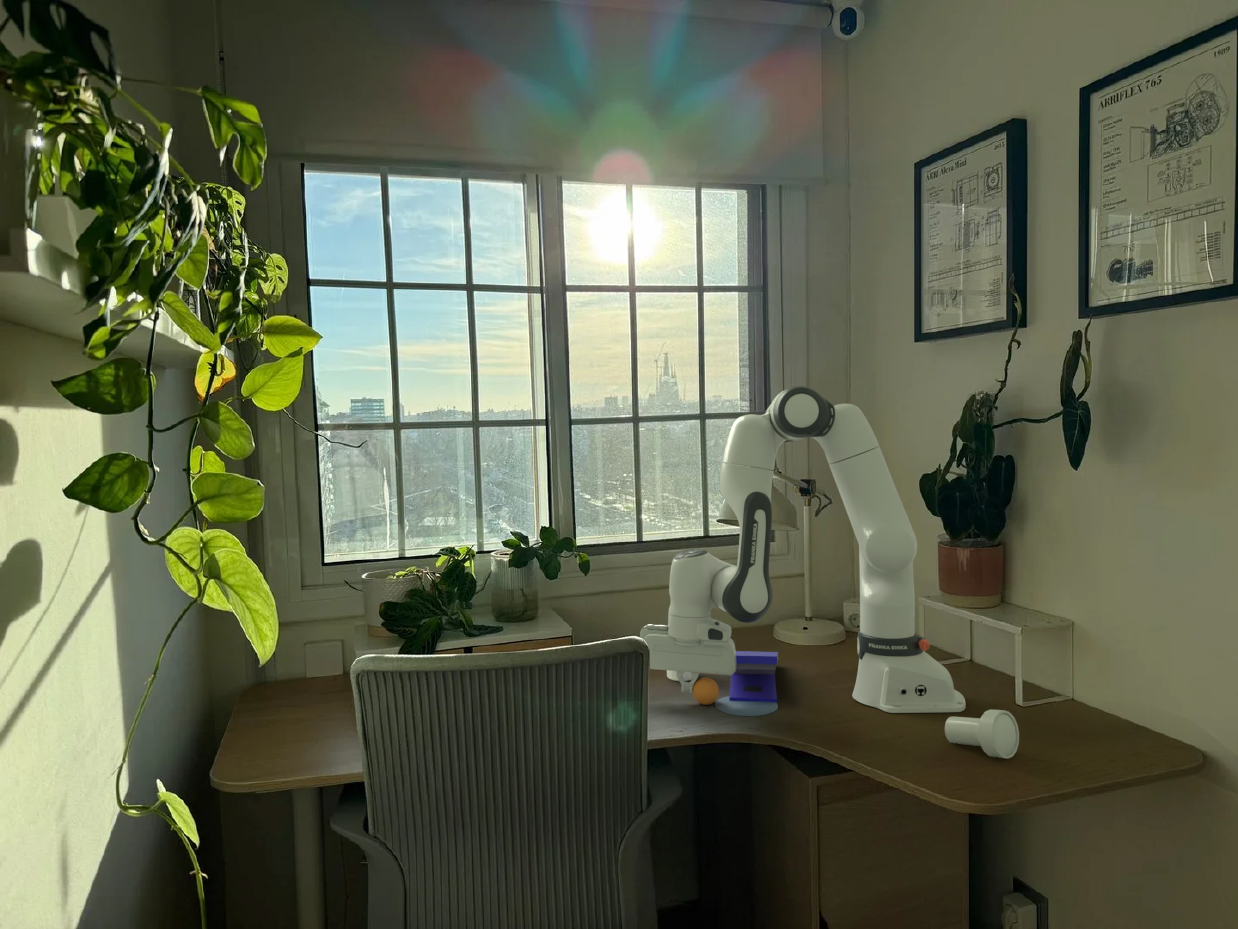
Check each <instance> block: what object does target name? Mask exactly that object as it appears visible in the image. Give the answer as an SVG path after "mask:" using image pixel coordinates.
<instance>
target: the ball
mask: <svg viewBox="0 0 1238 929" xmlns="http://www.w3.org/2000/svg"><path fill="white" fill-rule="evenodd" d="M719 689H720V688H719V685H718V684H717V682H716V681H715V680H713V679H712V678H710V677H702V678H699V679H698V680H696V681H695V683H694V684H693V692H692V695H693V697H694V699H695V700H696V701H697V703H699V704H700V705H703V706H704V705H705V706H706V705H712V704H713V703H715V702H716V701H717V700H718V697H719V695H720V690H719Z"/></svg>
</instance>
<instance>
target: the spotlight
mask: <svg viewBox="0 0 1238 929" xmlns="http://www.w3.org/2000/svg"><path fill="white" fill-rule="evenodd" d="M944 735H945V737H946V739H947V741H948V742H949V743H950V744H956V743H957V745H966V746H967V745H968V746H979V747H981V749H982V750H983V752H984V753H985V754H986V755H987V756H988V757H992V758H996V757H998V758H999V759H1010V758H1013V757H1014V756H1015V754H1016V752H1017V751H1018V749H1019V748H1018V747H1019V744H1020V730H1019V726H1018V723H1017V720H1016V718H1015V716H1013V714H1012V713H1011V712H1010V711H1008V710H1003V709H988V710H985V711H984V712H983V714H982V715H981V717H979V718H978V717H965V716H949V717H947V719H946V721H945V724H944Z"/></svg>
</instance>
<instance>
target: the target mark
mask: <svg viewBox="0 0 1238 929" xmlns="http://www.w3.org/2000/svg"><path fill="white" fill-rule="evenodd" d="M729 696H730V695H727V696H724V697H721V698H719V699H716V701H715V702H714V708H716V709H717V710H718V711H720V712H722V713H725V714H727V715H732V716H737V717H760V716H766V715H770V714H772V713H775V712H776V711H777V710H778V709H779V705H778V702H777V703H776V702H761V701H730V700H729Z"/></svg>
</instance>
